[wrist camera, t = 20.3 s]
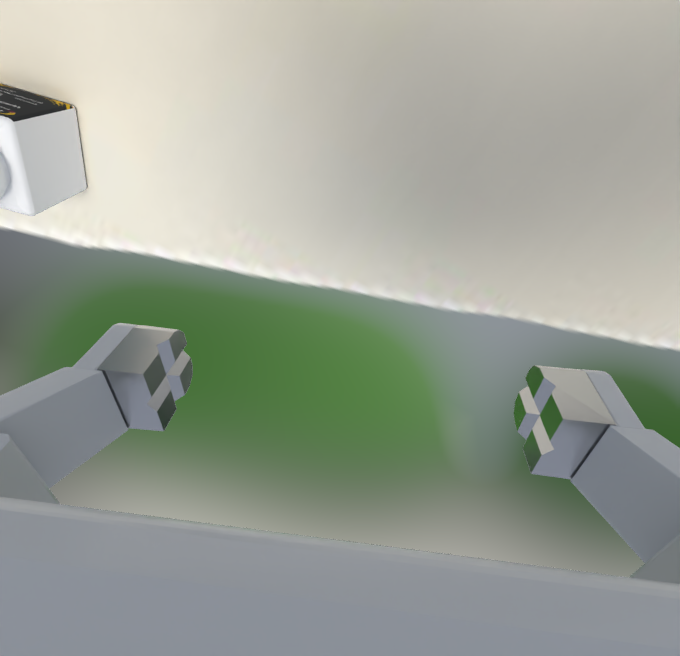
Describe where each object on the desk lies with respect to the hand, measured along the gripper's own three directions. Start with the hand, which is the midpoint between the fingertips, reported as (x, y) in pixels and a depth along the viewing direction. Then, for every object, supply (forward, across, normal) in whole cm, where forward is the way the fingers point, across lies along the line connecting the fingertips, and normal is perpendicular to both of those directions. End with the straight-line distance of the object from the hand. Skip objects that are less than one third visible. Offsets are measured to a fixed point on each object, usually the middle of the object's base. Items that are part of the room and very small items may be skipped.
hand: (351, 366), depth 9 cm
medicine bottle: (+27, +29, +2) cm, 40 cm away
